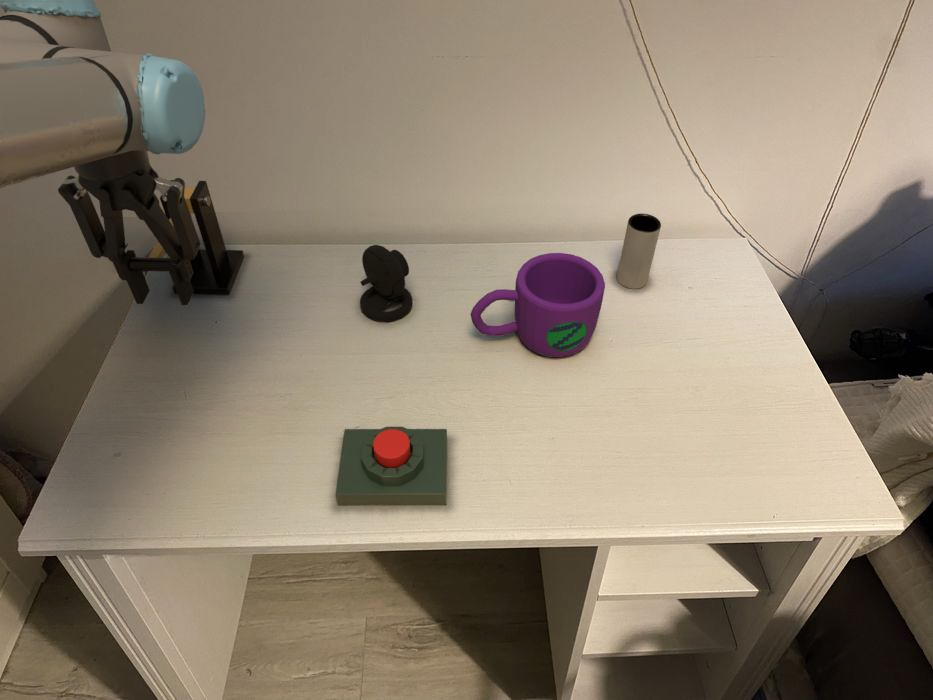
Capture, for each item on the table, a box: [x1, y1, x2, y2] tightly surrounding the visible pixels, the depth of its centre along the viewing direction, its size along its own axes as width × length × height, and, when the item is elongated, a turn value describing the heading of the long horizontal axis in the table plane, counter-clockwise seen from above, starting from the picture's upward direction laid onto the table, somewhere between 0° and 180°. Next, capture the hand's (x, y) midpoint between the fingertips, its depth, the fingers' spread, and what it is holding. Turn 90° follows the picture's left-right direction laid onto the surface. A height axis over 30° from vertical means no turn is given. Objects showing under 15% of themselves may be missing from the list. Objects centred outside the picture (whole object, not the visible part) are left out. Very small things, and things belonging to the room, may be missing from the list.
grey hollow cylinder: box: [616, 213, 662, 290], centre depth 103 cm, size 4×4×10 cm
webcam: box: [359, 244, 413, 323], centre depth 98 cm, size 8×8×10 cm
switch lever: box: [128, 186, 196, 273], centre depth 92 cm, size 16×5×2 cm, turn 178°
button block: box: [335, 426, 448, 506], centre depth 80 cm, size 12×9×4 cm
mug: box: [470, 252, 606, 358], centre depth 94 cm, size 17×11×10 cm, turn 100°
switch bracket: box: [159, 179, 245, 296], centre depth 101 cm, size 9×8×15 cm
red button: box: [373, 429, 410, 468], centre depth 79 cm, size 4×4×2 cm
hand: (165, 297), depth 91 cm, fingers closed on switch lever, 5 cm apart
